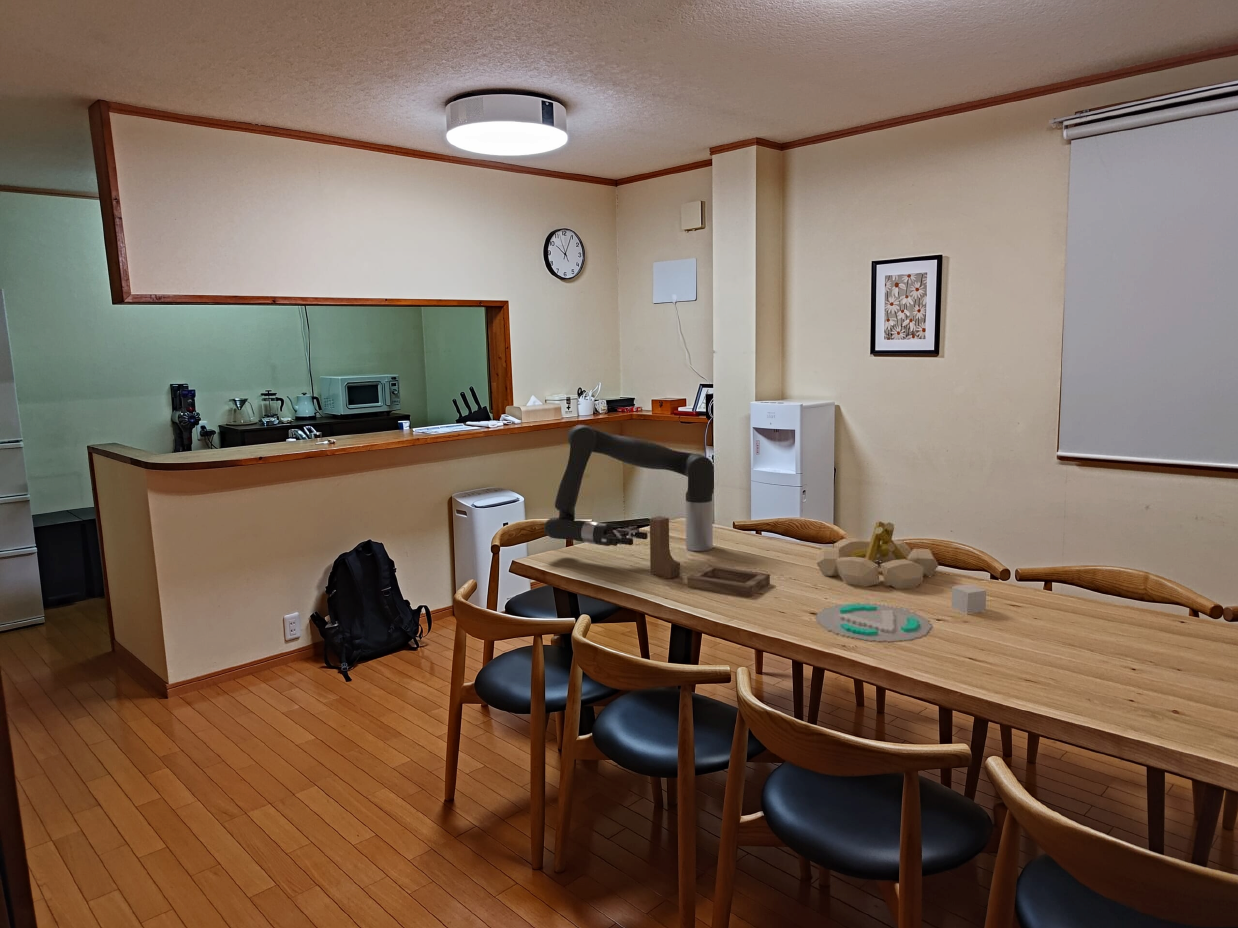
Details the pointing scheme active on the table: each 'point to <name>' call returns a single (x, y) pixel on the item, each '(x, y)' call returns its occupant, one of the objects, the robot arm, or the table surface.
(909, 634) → the grey flat disc
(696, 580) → the brown rectangular tray
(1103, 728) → the table surface
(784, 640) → the table surface
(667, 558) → the wooden block
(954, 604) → the gray cube
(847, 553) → the campfire
